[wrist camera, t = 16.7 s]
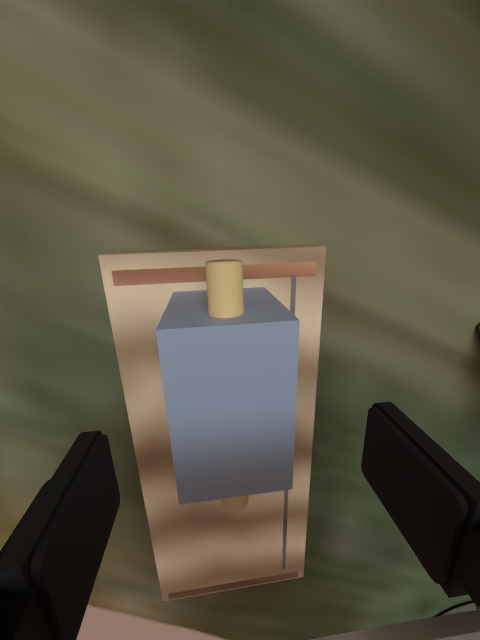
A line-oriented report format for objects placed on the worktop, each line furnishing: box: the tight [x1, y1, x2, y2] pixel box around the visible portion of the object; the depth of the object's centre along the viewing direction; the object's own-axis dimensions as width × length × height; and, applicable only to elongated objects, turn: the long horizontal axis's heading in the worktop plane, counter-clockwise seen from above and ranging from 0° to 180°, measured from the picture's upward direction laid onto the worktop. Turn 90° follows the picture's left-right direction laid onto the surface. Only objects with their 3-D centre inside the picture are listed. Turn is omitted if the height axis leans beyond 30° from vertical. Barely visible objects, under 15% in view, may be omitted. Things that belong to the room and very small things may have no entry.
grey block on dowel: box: [156, 259, 300, 513], centre depth 14 cm, size 12×5×6 cm, turn 2°
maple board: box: [98, 245, 326, 602], centre depth 20 cm, size 28×12×2 cm, turn 2°
